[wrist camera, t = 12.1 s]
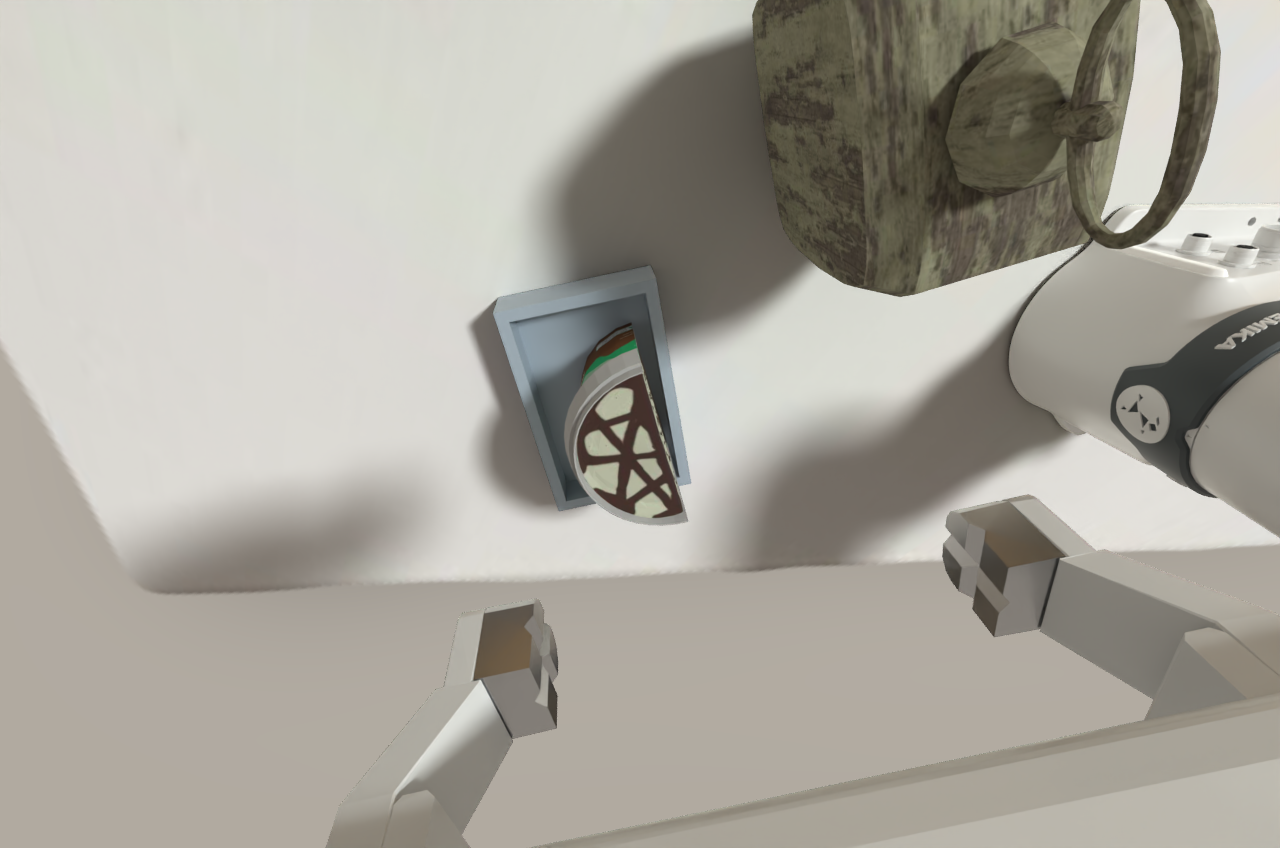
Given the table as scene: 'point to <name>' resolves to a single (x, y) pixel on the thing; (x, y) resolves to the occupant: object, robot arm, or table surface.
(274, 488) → the table surface
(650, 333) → the holder tray
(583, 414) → the food container
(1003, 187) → the tabletop clock
